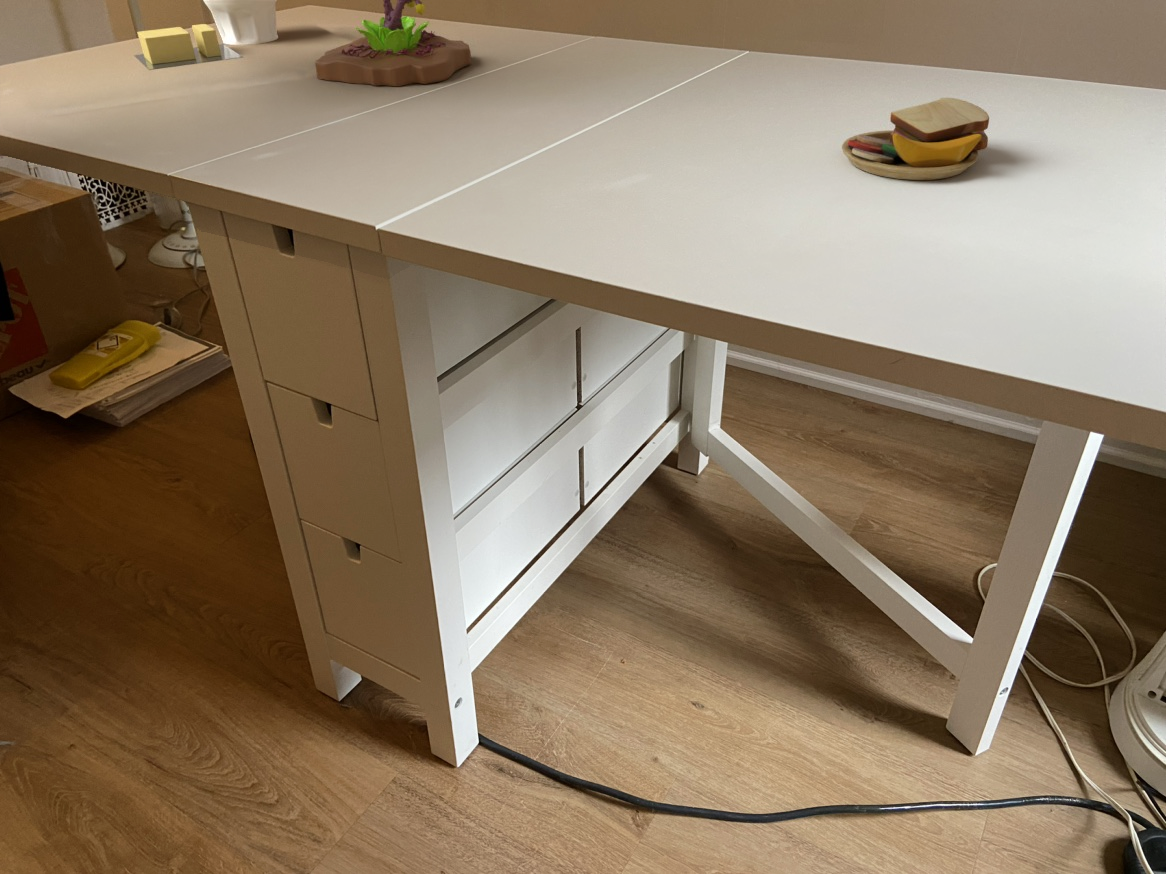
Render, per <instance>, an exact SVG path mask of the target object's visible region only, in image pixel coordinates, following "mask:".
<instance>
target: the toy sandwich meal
mask: <svg viewBox="0 0 1166 874" xmlns="http://www.w3.org/2000/svg"><path fill="white" fill-rule="evenodd" d="M889 120H890V121H889V122H890V123H891V124H893V125H894V129H893V130H876V131H869V132H864V133H860V134H856V135H853V136H850V137H849V138H847V139H846V140H845V141H844V142H843V143H842V145H841V150H842V153H843V154H844V155H845V156H846V157H847V158H848V161H849V162H850V163H851V164H852V165H853V166H854V167H855V168H857V169H859V170H861V171H864V172H866V173H869V174H873V175H875V176H881V177H884V178H889V179H898V180H909V181H931V180H932V181H933V180H941V179H946V178H947V179H948V178H952V177H955V176H957V175H960V174H962V173H963V172H965V171H966V170H967V169H968V168H970V167H971V166H973V165H974V164H976V162H977V161H978V160H979V151H985V150H986V149H987V148H988V143H989V137H988V135H987V133H986V132H985V131H986V130H987V129H988V128H989V123H990V116H989V114H988V112H987V111H986V110H984V109H983V108H982V107H980V106H979V105H977V104H974V103H971V102H969V101H967V100H963V99H959V98H955V97H941V98H939V99H937V100H934V101H929V102H925V103H921V104H918V105H914V106H909V107H906V108H902V109H898V110H894V111H891V112H890V119H889Z"/></svg>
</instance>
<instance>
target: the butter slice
mask: <svg viewBox="0 0 1166 874" xmlns="http://www.w3.org/2000/svg"><path fill="white" fill-rule="evenodd" d="M191 28H192V33H193V35H194V41H195V43H196V44H195V45H196V47H197V48H198V51H200V52H201V53H202V54H204V55H205V56H206V57H215V56H221V52H220V48H219V44H220V43H219V40H218V35H217V32H216V29H215V28H213V27H211V26H210V25H208V24H206V23H201V24H193V25H191Z"/></svg>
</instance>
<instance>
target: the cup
mask: <svg viewBox="0 0 1166 874" xmlns="http://www.w3.org/2000/svg"><path fill="white" fill-rule="evenodd" d="M202 1H203V3H204V4H205V6H206V7H207V8H208V10H209V11H210V13H211V15H212V18H213V21H214V23H215V25H216V28H217V31H218V33H219V35H220V38H221V40H222V44H224V45H233V46H245V45H248V46H249V45H257V44H258V45H259V44H265V43H269V42H273V41H276V40H278V39H279V35H278V32H277V31H278V30H277V11H276V10H277V8H276V7H277V6H276V3H277V1H278V0H202Z"/></svg>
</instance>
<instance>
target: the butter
mask: <svg viewBox="0 0 1166 874" xmlns="http://www.w3.org/2000/svg"><path fill="white" fill-rule="evenodd" d="M137 36H138V40H139V44H140V46H141V50H142V54H144V57H145V58H146V59H147V60H148V61H149V62H150V63H151V64H152V65H155V64H162V63H170V62H177V61H185V60H192V59H196V57H195V53H194V49H193V48H194V46H193V41H192V38H191V33H190V32H188V30H186V29H184V28H182V27H181V26H176V27H175V26H174V27H167V28H159V29H149V30H142V31H137Z"/></svg>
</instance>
